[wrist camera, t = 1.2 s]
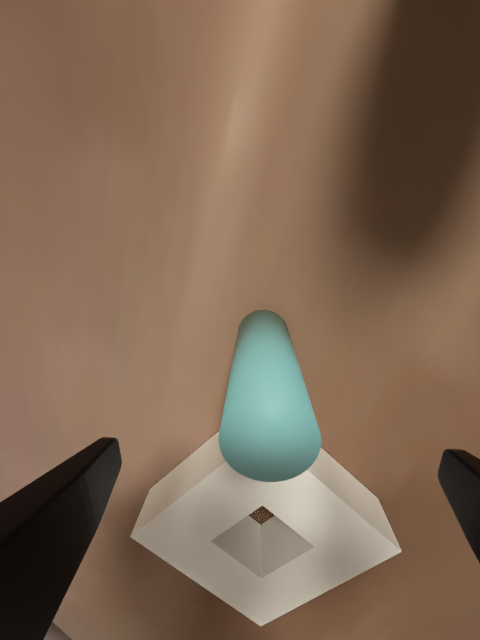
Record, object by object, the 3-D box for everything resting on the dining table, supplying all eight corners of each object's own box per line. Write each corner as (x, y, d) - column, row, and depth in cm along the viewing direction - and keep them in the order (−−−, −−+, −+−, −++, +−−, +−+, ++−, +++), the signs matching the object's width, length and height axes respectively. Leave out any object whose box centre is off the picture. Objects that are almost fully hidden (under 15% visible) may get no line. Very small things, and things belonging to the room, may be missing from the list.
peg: (298, 334, 16) (342, 445, 8) (262, 365, 17) (268, 497, 9) (263, 299, 16) (270, 379, 7) (228, 333, 17) (197, 440, 8)
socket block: (377, 498, 20) (401, 551, 17) (260, 569, 23) (260, 626, 20) (262, 395, 18) (263, 432, 15) (150, 488, 21) (130, 537, 18)
